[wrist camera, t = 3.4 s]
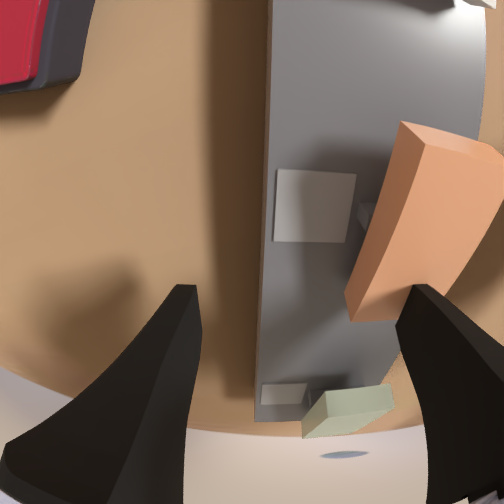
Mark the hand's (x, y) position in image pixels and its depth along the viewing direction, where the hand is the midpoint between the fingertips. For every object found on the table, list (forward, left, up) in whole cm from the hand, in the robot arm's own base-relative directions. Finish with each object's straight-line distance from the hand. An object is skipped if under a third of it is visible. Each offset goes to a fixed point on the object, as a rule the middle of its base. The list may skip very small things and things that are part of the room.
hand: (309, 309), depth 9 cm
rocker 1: (-4, +9, -1) cm, 10 cm away
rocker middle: (-4, -3, -1) cm, 4 cm away
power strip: (-3, -7, -5) cm, 10 cm away
